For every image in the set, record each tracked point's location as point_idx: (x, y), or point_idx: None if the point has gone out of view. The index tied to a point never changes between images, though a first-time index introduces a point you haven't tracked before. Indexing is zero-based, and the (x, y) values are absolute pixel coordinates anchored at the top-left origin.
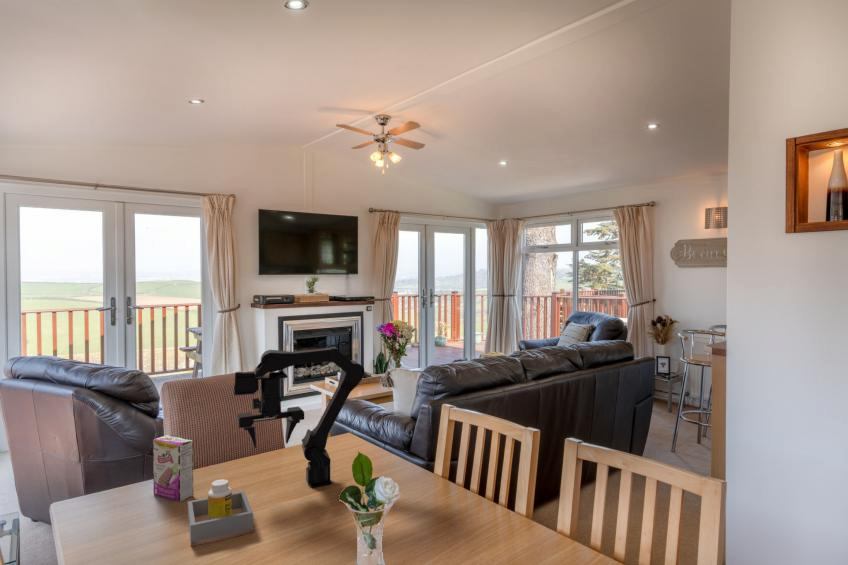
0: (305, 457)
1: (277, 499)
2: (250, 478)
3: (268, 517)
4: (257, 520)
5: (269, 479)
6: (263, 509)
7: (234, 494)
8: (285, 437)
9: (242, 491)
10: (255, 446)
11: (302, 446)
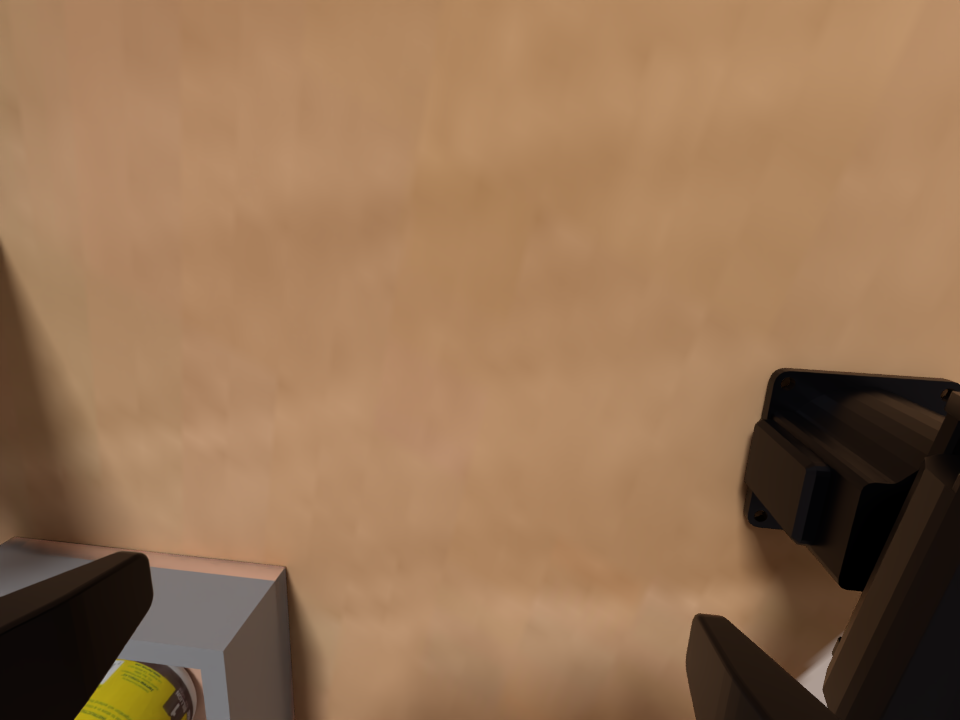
0: (827, 687)
1: (482, 550)
2: (381, 83)
3: (388, 709)
4: (333, 707)
5: (518, 190)
6: (381, 621)
7: (161, 661)
8: (732, 689)
9: (210, 652)
10: (121, 641)
11: (956, 563)
